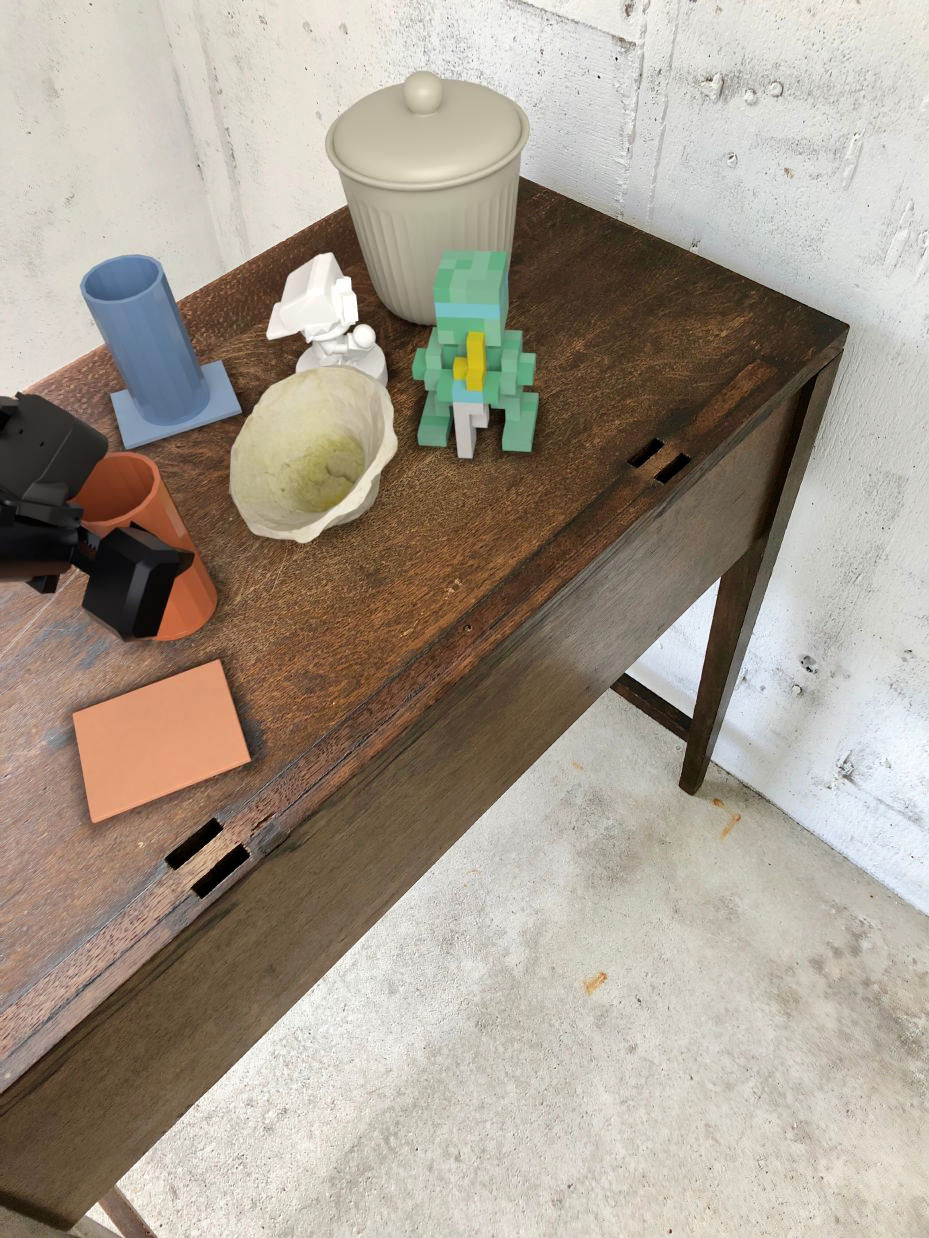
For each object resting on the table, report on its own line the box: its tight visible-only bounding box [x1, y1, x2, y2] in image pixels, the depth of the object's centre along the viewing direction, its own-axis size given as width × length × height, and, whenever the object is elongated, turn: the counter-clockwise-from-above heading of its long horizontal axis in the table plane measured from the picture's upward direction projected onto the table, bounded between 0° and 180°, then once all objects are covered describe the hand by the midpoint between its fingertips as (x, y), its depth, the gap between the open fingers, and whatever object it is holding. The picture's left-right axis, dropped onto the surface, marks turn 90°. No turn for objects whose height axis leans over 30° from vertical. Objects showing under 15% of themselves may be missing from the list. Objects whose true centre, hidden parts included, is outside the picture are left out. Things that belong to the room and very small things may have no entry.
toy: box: [411, 250, 540, 459], centre depth 73 cm, size 10×10×15 cm
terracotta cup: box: [67, 451, 219, 642], centre depth 63 cm, size 7×7×13 cm
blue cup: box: [79, 253, 210, 426], centre depth 77 cm, size 7×7×13 cm
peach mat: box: [72, 658, 252, 824], centre depth 62 cm, size 11×9×1 cm
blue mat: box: [109, 359, 243, 451], centre depth 83 cm, size 11×8×1 cm
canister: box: [324, 70, 531, 327], centre depth 82 cm, size 18×18×21 cm
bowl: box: [228, 365, 399, 544], centre depth 70 cm, size 15×14×10 cm
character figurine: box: [265, 251, 389, 389], centre depth 79 cm, size 9×10×12 cm
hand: (158, 538), depth 64 cm, fingers closed on terracotta cup, 7 cm apart
